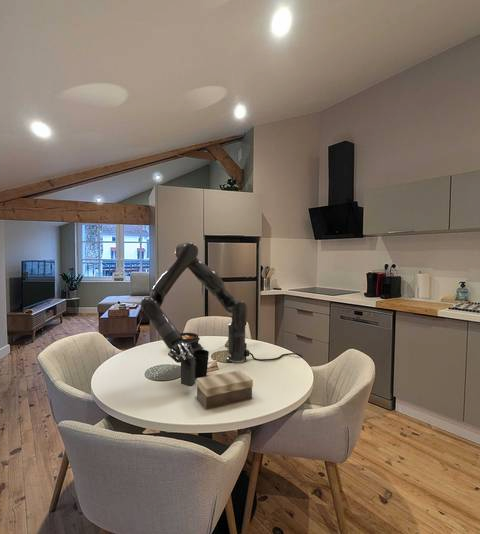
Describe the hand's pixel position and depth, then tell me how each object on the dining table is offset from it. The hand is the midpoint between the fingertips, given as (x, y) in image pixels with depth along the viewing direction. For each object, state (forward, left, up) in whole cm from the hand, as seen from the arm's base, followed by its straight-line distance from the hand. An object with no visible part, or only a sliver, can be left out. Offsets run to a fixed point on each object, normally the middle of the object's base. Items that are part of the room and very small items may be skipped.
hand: (192, 366), depth 132 cm
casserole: (-16, -56, -11) cm, 59 cm away
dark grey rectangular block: (+1, -2, -8) cm, 8 cm away
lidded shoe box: (-10, +11, -11) cm, 18 cm away
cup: (-9, -13, -11) cm, 19 cm away
